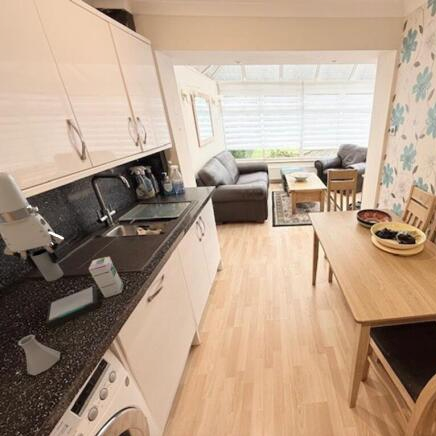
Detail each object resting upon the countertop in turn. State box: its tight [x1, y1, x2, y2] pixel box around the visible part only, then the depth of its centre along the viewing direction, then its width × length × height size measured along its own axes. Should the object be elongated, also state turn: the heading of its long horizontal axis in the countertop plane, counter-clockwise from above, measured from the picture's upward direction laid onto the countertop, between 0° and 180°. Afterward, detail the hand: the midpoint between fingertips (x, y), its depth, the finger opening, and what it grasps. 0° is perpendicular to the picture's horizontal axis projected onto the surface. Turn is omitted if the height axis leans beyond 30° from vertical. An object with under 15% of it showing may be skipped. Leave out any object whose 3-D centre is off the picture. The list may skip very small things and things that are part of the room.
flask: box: [17, 334, 61, 376], centre depth 67 cm, size 7×7×10 cm
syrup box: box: [88, 255, 124, 299], centre depth 92 cm, size 6×6×14 cm
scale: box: [45, 285, 100, 330], centre depth 88 cm, size 14×12×3 cm
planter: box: [30, 248, 64, 282], centre depth 80 cm, size 4×4×10 cm
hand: (46, 263), depth 79 cm, fingers closed on planter, 4 cm apart
